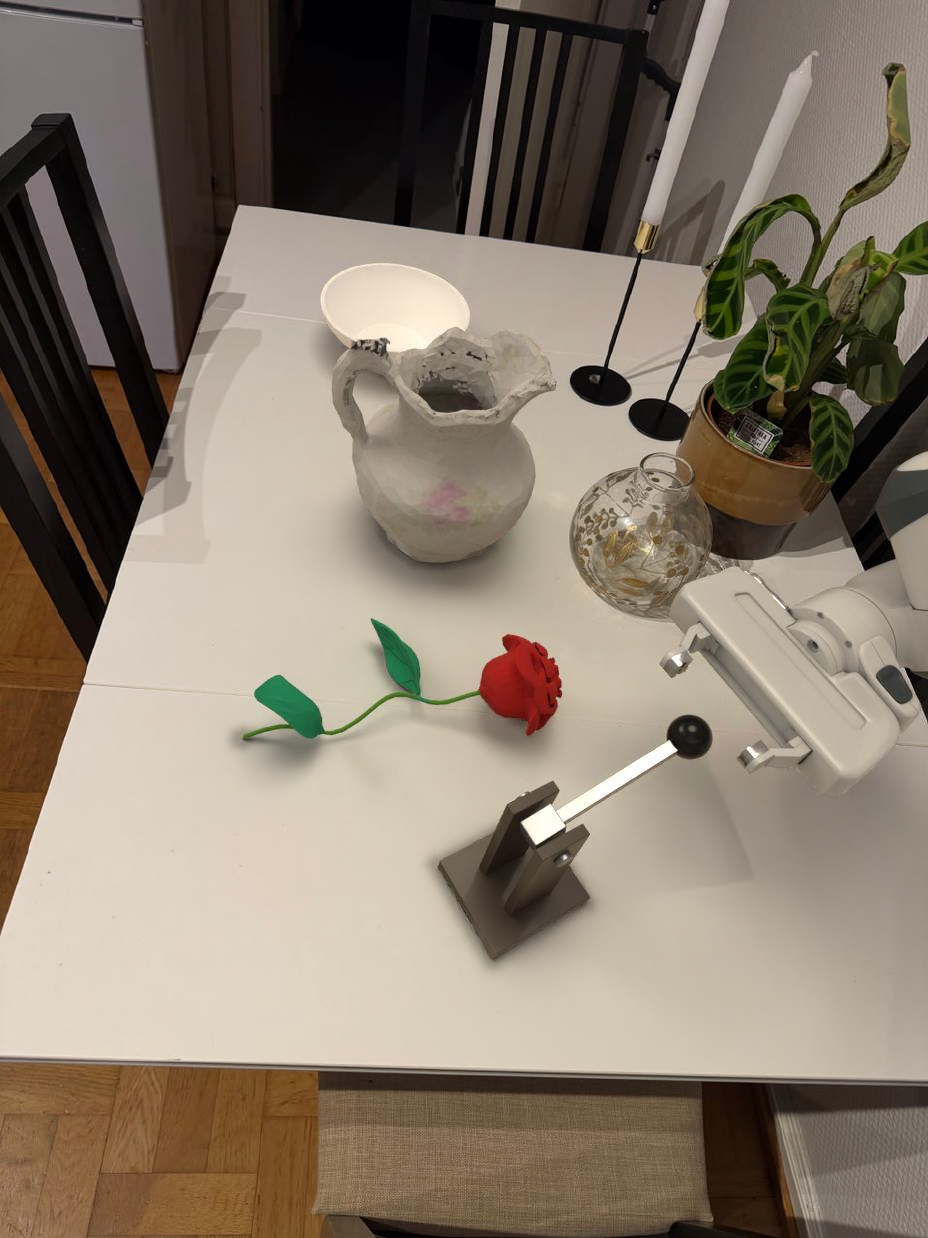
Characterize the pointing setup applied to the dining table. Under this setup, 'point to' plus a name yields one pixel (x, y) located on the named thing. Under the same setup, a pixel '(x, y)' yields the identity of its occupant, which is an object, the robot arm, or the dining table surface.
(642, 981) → the dining table surface
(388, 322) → the bowl
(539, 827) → the lever
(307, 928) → the dining table surface
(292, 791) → the dining table surface
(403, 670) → the decorative flower
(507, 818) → the bracket
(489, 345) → the ceramic pitcher
